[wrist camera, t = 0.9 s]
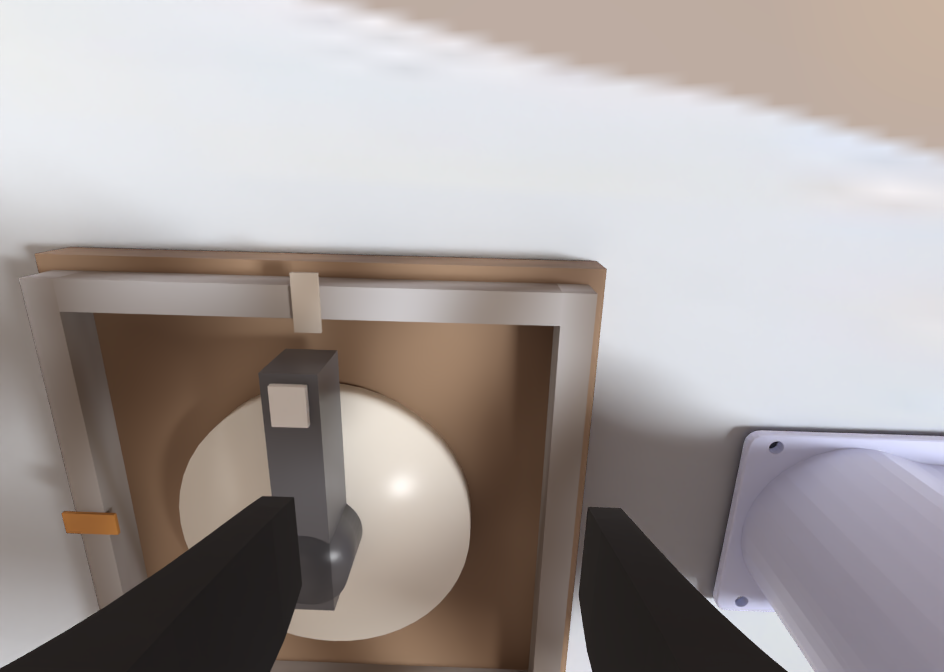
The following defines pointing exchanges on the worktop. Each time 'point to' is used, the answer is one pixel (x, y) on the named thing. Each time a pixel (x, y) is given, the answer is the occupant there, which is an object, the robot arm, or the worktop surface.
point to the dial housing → (360, 364)
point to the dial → (339, 495)
